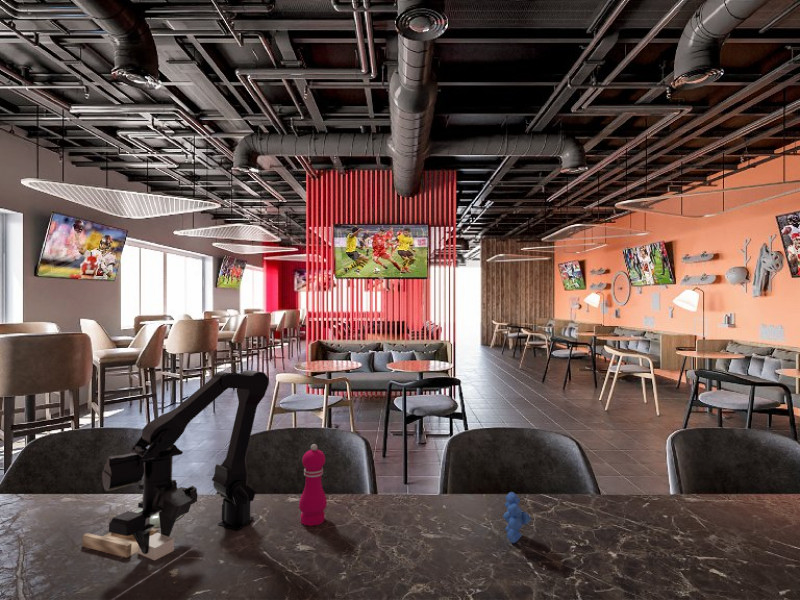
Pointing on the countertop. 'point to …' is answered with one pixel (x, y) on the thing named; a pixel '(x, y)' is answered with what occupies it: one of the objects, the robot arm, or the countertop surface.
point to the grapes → (514, 517)
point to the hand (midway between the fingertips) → (155, 547)
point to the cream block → (158, 546)
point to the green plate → (155, 519)
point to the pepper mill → (313, 488)
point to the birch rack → (113, 543)
